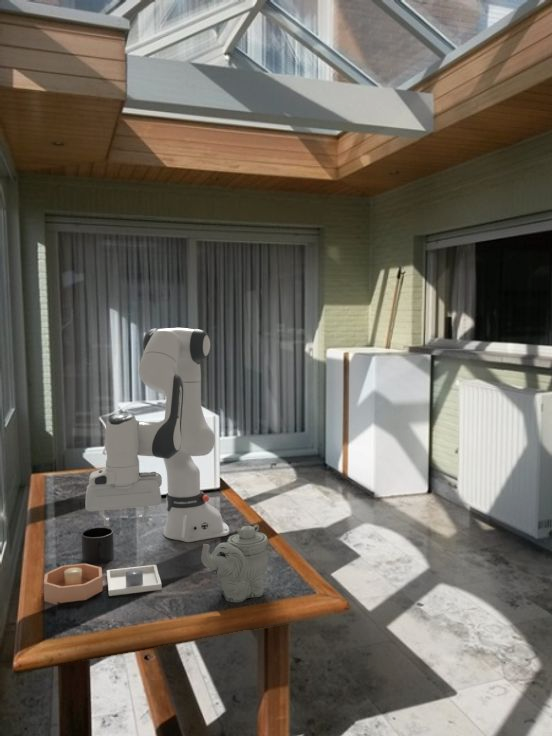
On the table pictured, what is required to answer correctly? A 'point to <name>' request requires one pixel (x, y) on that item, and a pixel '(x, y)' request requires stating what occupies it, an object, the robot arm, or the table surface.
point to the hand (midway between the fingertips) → (124, 523)
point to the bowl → (61, 593)
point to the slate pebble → (134, 578)
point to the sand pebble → (73, 576)
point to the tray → (118, 586)
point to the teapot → (239, 563)
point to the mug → (97, 545)
